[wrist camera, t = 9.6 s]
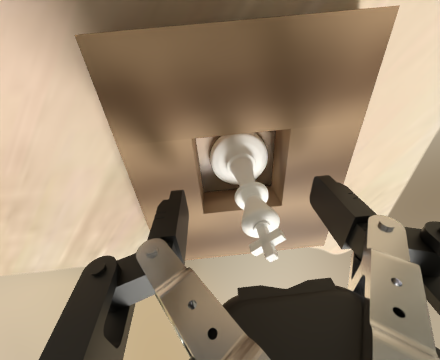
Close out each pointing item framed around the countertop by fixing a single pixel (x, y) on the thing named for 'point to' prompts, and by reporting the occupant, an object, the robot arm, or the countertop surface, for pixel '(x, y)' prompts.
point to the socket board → (239, 110)
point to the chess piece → (249, 188)
